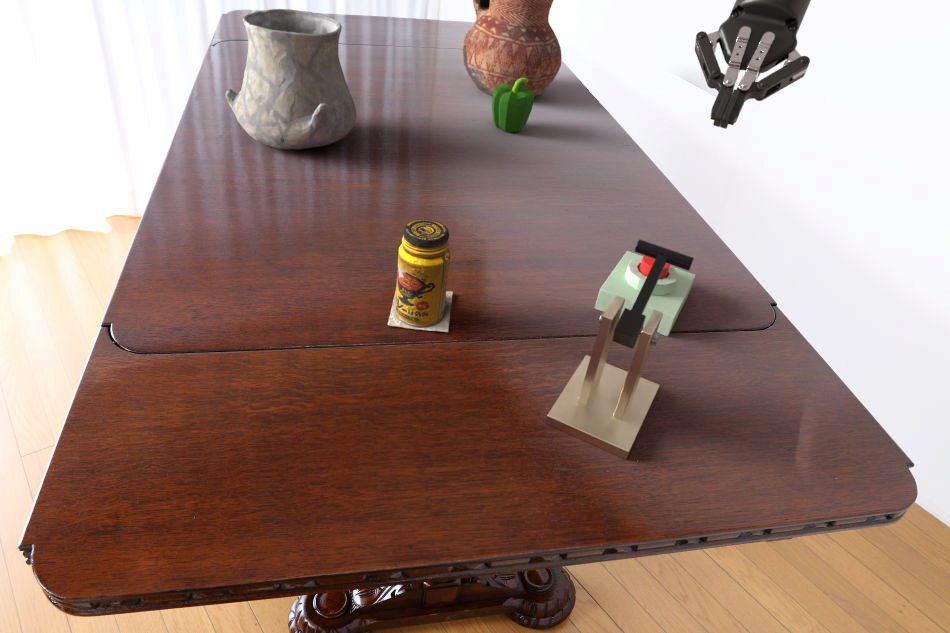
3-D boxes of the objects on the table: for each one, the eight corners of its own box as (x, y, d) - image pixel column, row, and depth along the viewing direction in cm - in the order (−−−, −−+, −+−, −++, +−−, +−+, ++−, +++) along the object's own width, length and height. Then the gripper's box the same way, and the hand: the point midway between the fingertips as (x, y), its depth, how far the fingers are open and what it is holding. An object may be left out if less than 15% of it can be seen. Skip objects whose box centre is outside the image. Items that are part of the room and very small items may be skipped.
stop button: (643, 261, 92) (646, 250, 90) (669, 271, 90) (673, 260, 89) (635, 273, 89) (639, 262, 88) (662, 283, 88) (666, 272, 87)
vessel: (248, 108, 129) (239, -6, 117) (365, 123, 130) (367, 12, 118) (208, 154, 112) (193, 26, 100) (343, 171, 113) (344, 47, 101)
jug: (559, 86, 163) (582, -29, 148) (547, 114, 146) (571, -12, 131) (470, 68, 166) (483, -46, 151) (448, 94, 149) (460, -31, 134)
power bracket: (583, 362, 80) (609, 271, 73) (657, 392, 78) (691, 301, 70) (544, 423, 71) (569, 327, 64) (626, 460, 69) (662, 364, 61)
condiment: (387, 326, 81) (392, 240, 74) (396, 286, 88) (401, 204, 81) (447, 333, 81) (458, 248, 74) (452, 293, 88) (462, 211, 81)
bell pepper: (492, 134, 133) (499, 84, 127) (485, 119, 140) (491, 69, 134) (533, 137, 135) (542, 87, 129) (524, 121, 141) (533, 73, 135)
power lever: (638, 247, 74) (640, 233, 72) (691, 265, 73) (696, 252, 70) (594, 334, 69) (596, 322, 67) (651, 356, 67) (654, 345, 65)
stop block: (621, 269, 98) (630, 239, 95) (689, 293, 95) (700, 263, 92) (594, 308, 89) (603, 277, 86) (667, 337, 86) (679, 305, 83)
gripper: (723, -48, 75) (662, 89, 73) (849, -22, 71) (788, 123, 69) (716, -2, 82) (661, 124, 80) (830, 23, 78) (775, 156, 76)
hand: (720, 123), depth 74 cm, fingers closed
